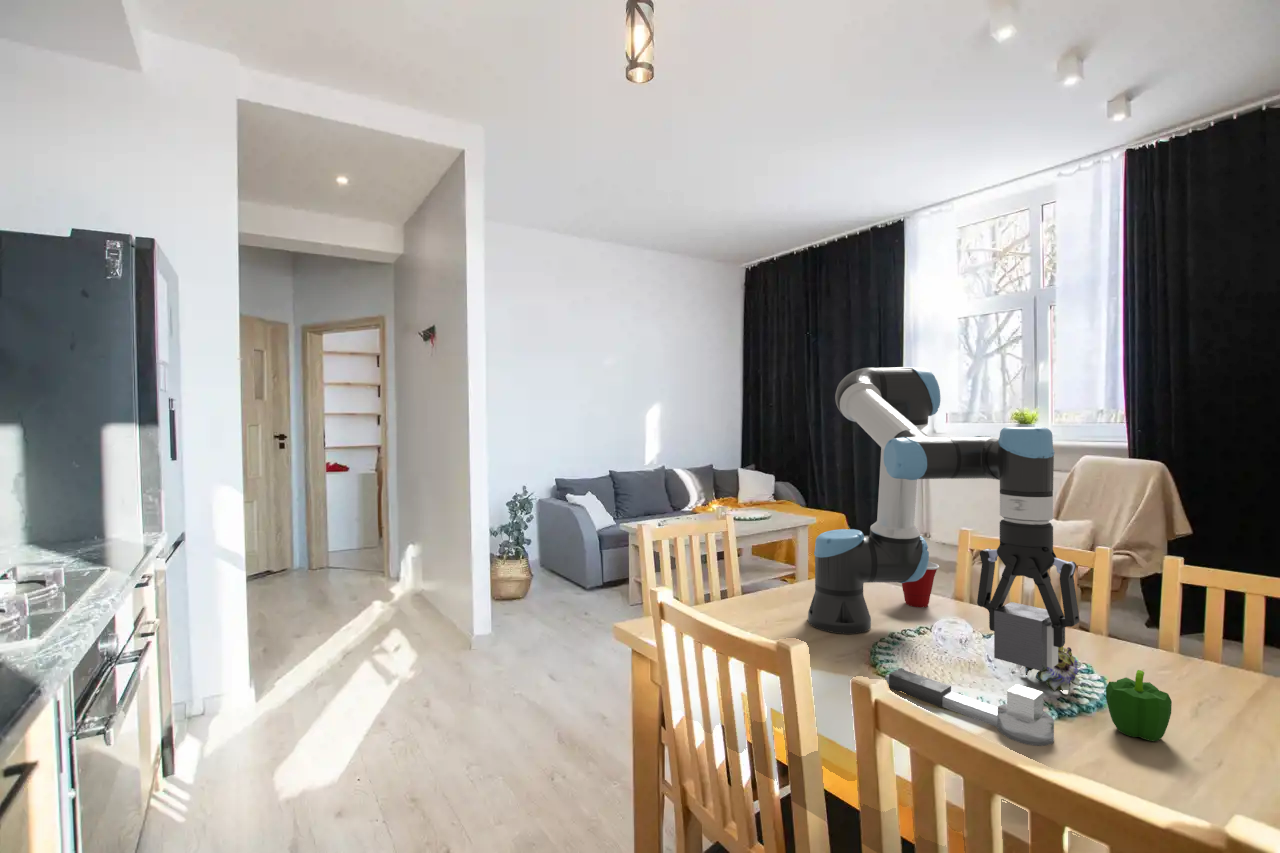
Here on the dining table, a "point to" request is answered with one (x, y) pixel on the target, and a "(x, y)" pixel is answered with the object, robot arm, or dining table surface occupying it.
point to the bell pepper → (1138, 707)
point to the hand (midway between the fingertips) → (1025, 657)
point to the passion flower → (1060, 671)
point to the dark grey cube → (1021, 635)
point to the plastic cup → (920, 588)
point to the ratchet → (985, 707)
